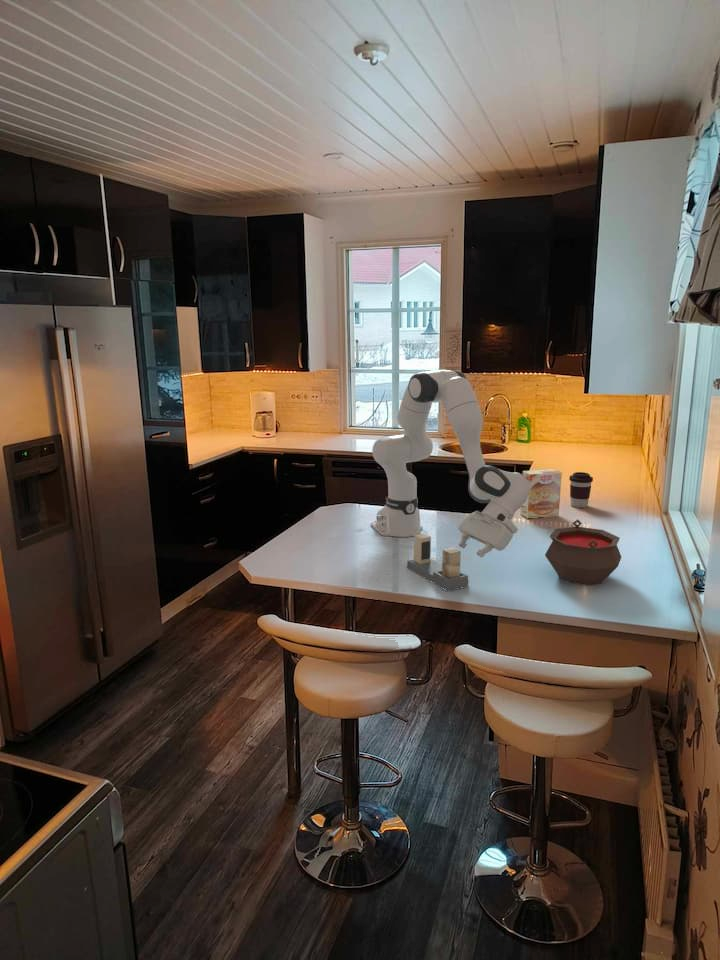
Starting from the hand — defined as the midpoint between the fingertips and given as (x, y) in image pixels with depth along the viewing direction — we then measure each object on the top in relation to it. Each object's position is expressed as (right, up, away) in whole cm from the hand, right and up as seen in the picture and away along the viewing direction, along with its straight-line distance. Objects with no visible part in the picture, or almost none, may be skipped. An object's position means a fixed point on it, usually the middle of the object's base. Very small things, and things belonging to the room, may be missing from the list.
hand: (469, 551), depth 202 cm
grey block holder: (-10, -9, +5) cm, 14 cm away
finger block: (-6, -8, -2) cm, 10 cm away
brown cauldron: (+37, -9, +5) cm, 38 cm away
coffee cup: (+64, +11, +85) cm, 107 cm away
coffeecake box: (+42, +7, +71) cm, 83 cm away
